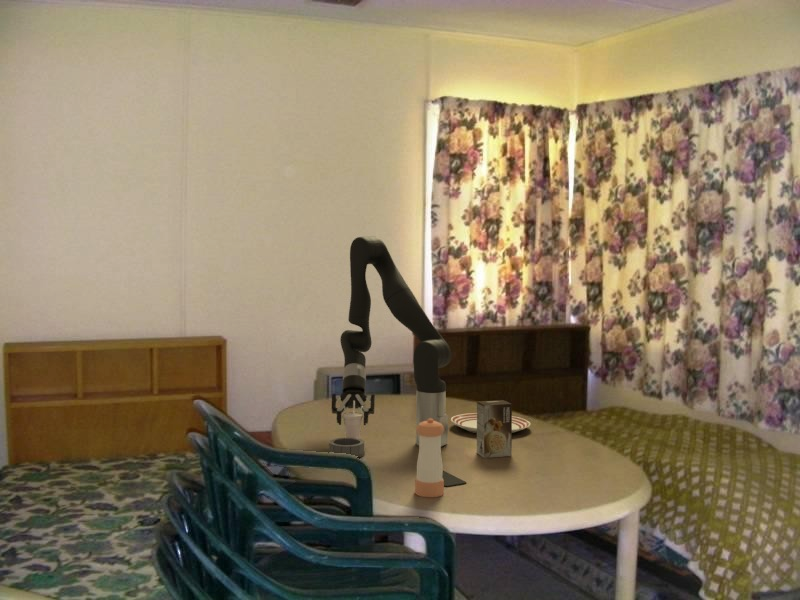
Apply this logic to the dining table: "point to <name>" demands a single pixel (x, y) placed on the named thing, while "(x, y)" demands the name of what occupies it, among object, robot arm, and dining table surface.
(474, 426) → the dinner plate
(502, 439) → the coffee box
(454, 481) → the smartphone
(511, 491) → the dining table surface
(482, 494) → the dining table surface
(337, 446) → the grey short hollow cylinder
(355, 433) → the smoothie
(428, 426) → the salt shaker
